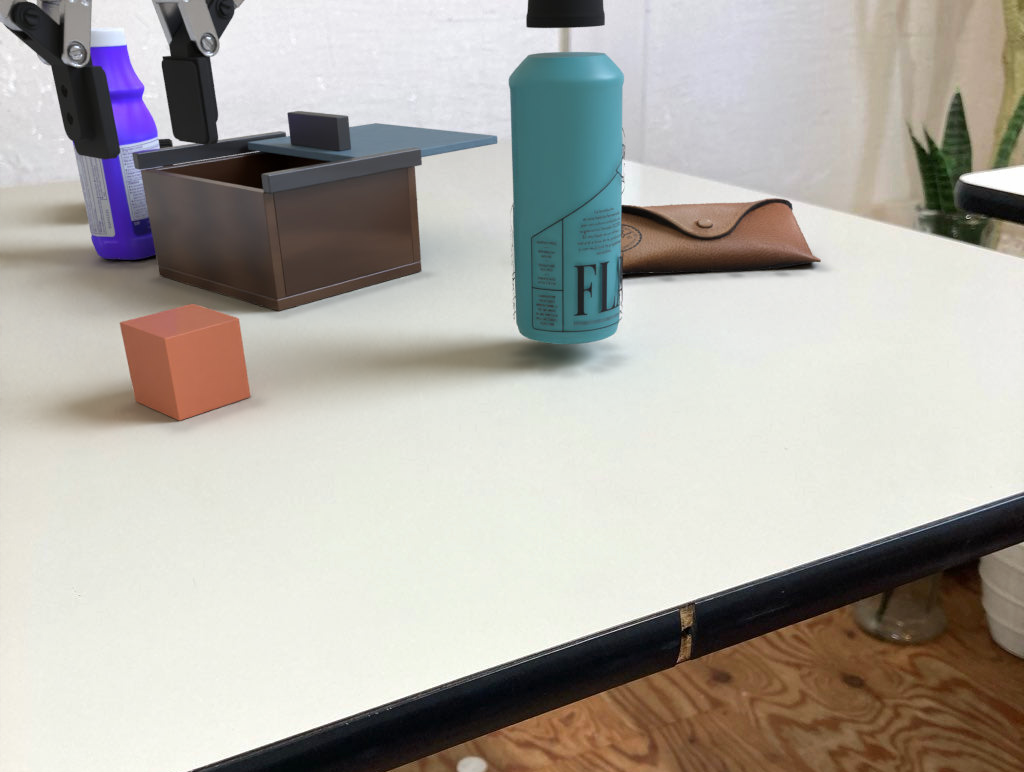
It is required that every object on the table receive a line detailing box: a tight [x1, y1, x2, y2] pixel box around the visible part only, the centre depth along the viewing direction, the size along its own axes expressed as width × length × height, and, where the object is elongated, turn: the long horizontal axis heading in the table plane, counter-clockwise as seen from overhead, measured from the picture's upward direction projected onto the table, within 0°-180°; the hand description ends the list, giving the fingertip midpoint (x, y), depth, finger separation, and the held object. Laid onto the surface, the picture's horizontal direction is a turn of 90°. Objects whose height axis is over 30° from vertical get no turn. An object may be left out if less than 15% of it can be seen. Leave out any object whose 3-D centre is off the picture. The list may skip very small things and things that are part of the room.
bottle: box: [72, 27, 163, 261], centre depth 84 cm, size 7×6×17 cm
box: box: [132, 130, 423, 312], centre depth 79 cm, size 17×14×9 cm
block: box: [119, 303, 251, 422], centre depth 56 cm, size 4×4×4 cm
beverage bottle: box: [508, 0, 626, 345], centre depth 58 cm, size 6×7×20 cm
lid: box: [248, 110, 498, 162], centre depth 83 cm, size 15×14×3 cm
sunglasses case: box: [620, 197, 821, 275], centre depth 81 cm, size 18×7×7 cm
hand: (148, 144), depth 51 cm, fingers open, 4 cm apart
